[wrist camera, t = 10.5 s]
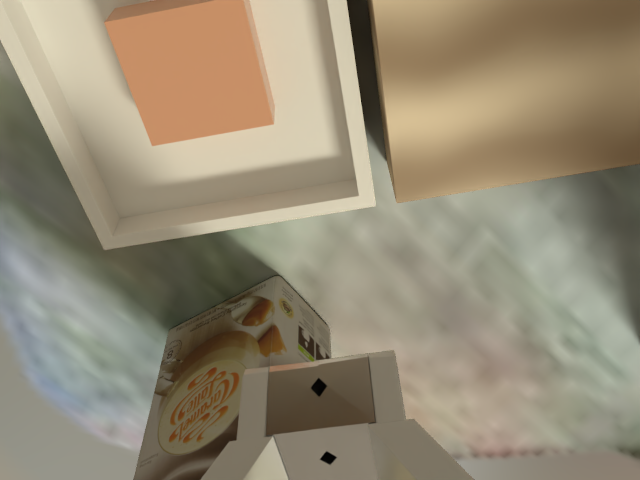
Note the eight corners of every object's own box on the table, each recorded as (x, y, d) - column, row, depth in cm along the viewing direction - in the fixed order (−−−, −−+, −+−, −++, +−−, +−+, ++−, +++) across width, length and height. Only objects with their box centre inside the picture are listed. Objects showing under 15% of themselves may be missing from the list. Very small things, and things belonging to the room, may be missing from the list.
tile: (241, -6, 25) (245, -18, 27) (103, 22, 26) (115, 8, 28) (274, 124, 29) (275, 106, 31) (152, 146, 30) (159, 127, 31)
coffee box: (276, 269, 38) (267, 518, 25) (332, 329, 41) (349, 576, 29) (164, 329, 41) (105, 581, 28) (225, 381, 44) (196, 627, 31)
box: (-51, -132, 25) (-81, -125, 23) (314, -212, 24) (316, -211, 22) (114, 223, 36) (104, 250, 34) (371, 181, 34) (376, 206, 32)
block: (343, -186, 24) (351, -180, 21) (711, -265, 23) (778, -271, 20) (387, 162, 34) (396, 203, 31) (648, 119, 33) (686, 156, 29)
